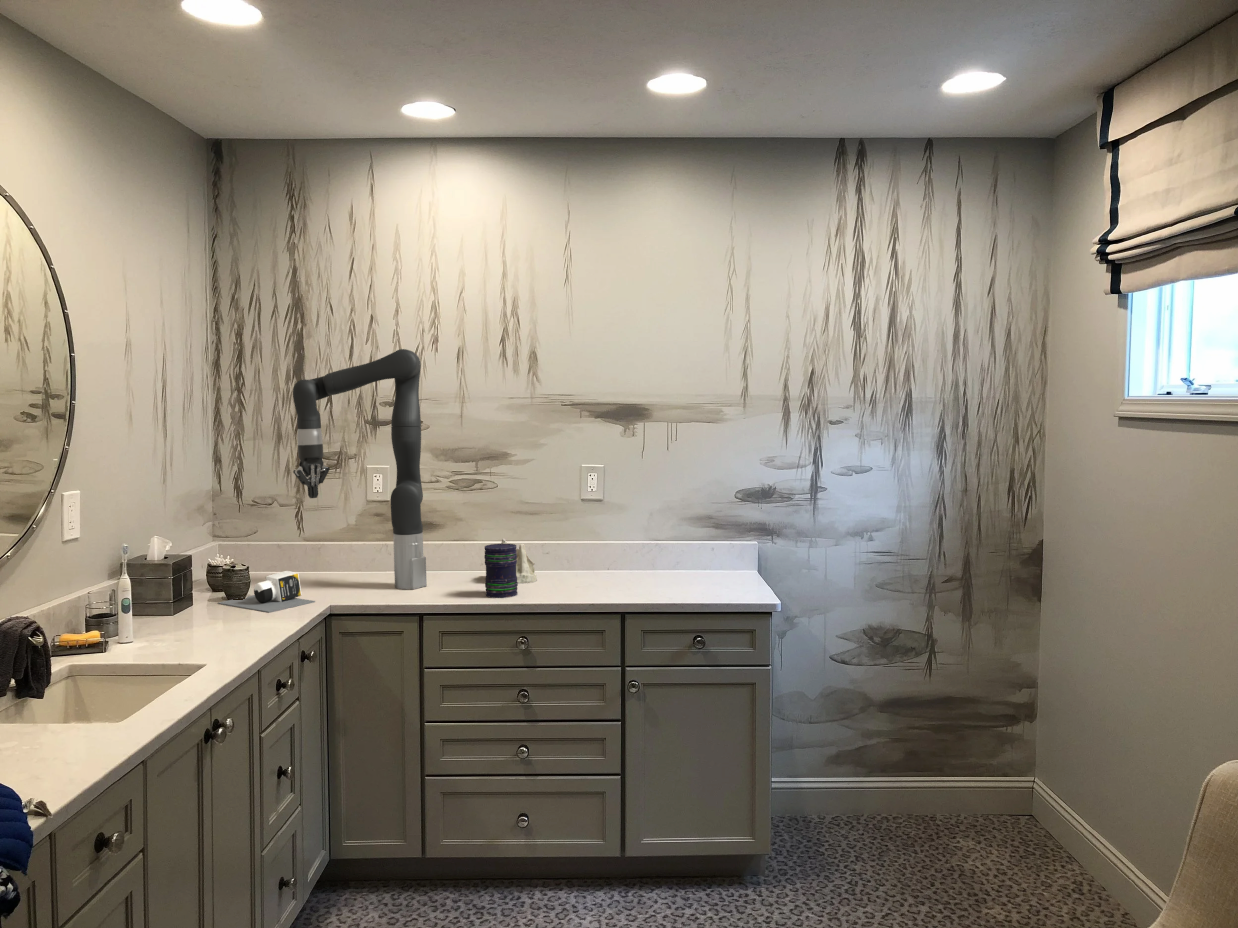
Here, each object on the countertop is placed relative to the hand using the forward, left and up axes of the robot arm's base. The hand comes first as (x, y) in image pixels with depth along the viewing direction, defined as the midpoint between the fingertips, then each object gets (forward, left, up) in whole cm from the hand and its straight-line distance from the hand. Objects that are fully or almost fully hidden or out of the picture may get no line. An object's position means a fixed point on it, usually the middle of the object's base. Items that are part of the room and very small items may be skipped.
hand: (313, 497), depth 298 cm
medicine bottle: (-6, +12, -24) cm, 28 cm away
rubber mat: (-4, +21, -29) cm, 36 cm away
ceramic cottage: (-45, -42, -30) cm, 68 cm away
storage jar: (-58, -22, -29) cm, 68 cm away
